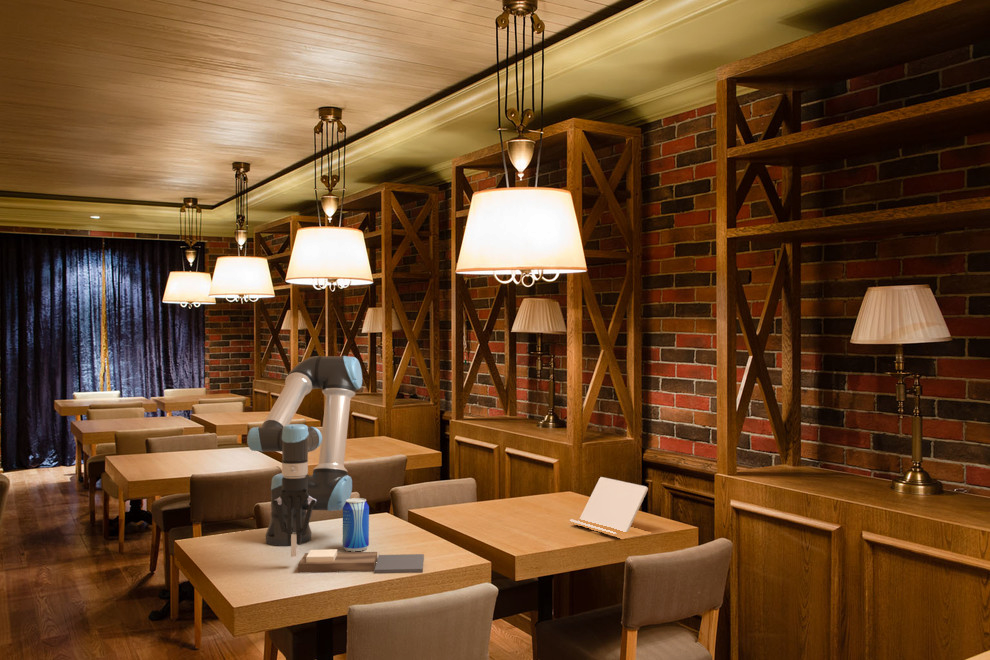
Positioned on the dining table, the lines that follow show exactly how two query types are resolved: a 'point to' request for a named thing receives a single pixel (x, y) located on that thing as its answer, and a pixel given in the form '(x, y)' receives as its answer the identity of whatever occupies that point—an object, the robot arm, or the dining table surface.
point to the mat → (399, 563)
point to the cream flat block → (321, 555)
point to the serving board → (341, 563)
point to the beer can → (355, 525)
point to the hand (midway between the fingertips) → (294, 555)
